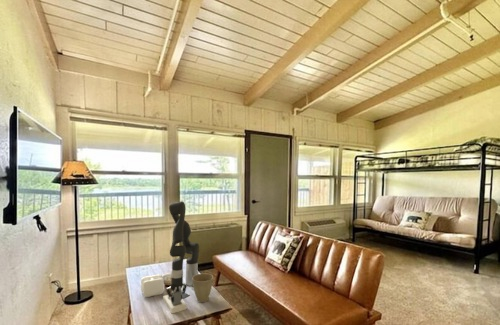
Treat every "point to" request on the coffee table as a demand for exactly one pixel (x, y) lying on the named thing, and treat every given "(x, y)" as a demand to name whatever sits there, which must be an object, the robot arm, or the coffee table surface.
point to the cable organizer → (152, 285)
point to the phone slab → (184, 295)
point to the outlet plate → (174, 308)
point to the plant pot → (202, 286)
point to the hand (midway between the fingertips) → (176, 301)
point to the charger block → (177, 298)
